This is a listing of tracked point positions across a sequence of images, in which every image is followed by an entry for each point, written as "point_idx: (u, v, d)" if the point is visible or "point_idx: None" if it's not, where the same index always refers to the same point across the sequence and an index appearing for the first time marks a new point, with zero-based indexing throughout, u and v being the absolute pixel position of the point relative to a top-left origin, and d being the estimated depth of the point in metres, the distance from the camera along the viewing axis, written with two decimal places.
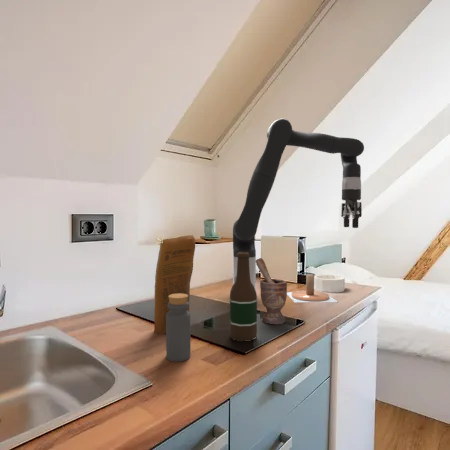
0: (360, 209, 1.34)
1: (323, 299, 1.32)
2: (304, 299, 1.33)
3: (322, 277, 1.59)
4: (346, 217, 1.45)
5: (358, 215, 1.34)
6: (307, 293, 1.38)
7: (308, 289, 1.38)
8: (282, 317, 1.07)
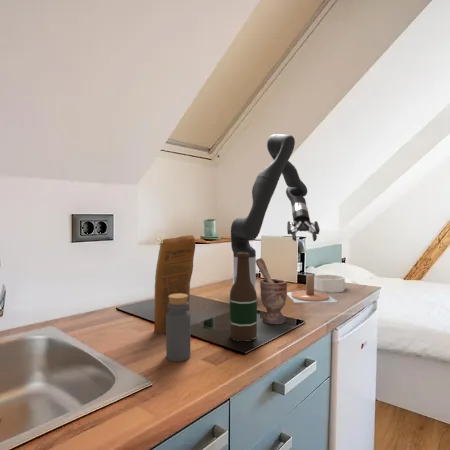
0: None
1: (323, 299, 1.32)
2: (304, 299, 1.33)
3: (322, 277, 1.59)
4: None
5: None
6: (307, 293, 1.38)
7: (308, 289, 1.38)
8: (282, 317, 1.07)
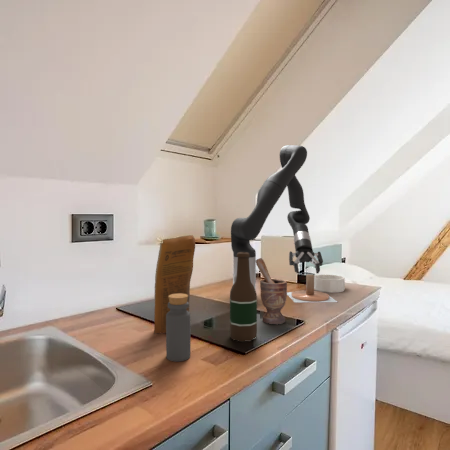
0: None
1: (323, 299, 1.33)
2: (304, 299, 1.33)
3: (322, 277, 1.59)
4: None
5: (322, 262, 1.47)
6: (307, 293, 1.38)
7: (308, 289, 1.38)
8: (282, 317, 1.07)
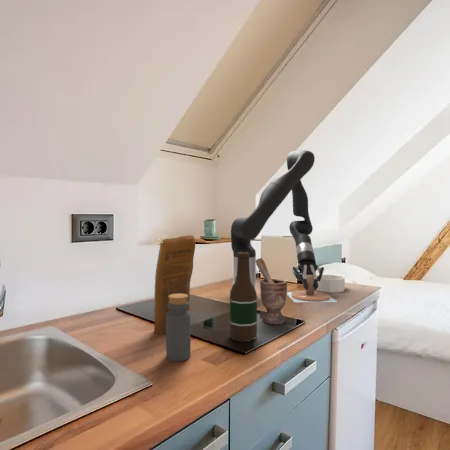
0: None
1: (323, 299, 1.33)
2: (304, 299, 1.33)
3: (322, 277, 1.59)
4: None
5: (320, 278, 1.40)
6: (307, 293, 1.38)
7: (308, 289, 1.38)
8: (282, 317, 1.07)
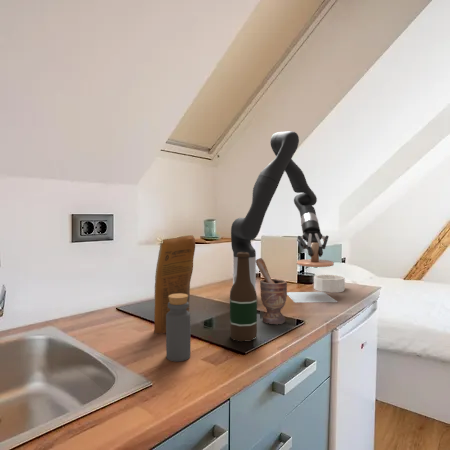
0: None
1: (328, 265, 1.35)
2: (309, 265, 1.35)
3: (322, 277, 1.59)
4: None
5: (325, 246, 1.42)
6: (312, 260, 1.41)
7: (313, 256, 1.40)
8: (282, 317, 1.07)
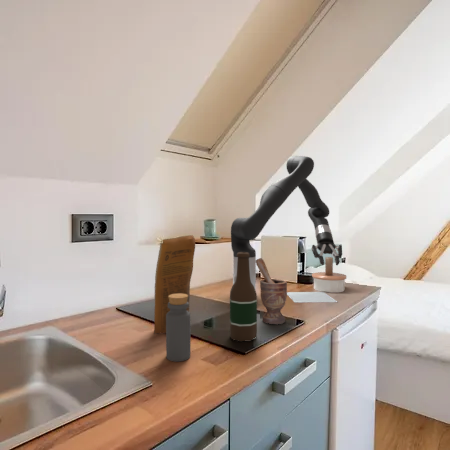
0: None
1: (342, 278, 1.47)
2: (324, 278, 1.47)
3: None
4: None
5: (341, 255, 1.55)
6: (326, 274, 1.53)
7: (327, 270, 1.52)
8: (282, 317, 1.07)
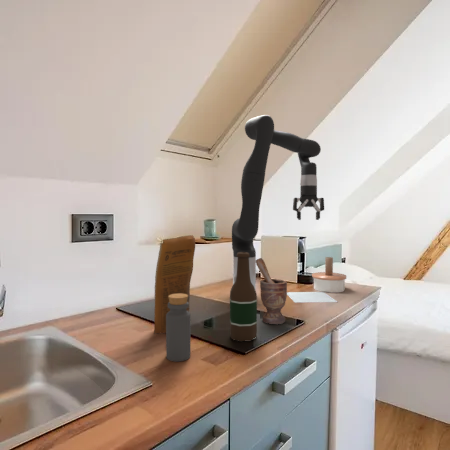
0: None
1: (342, 278, 1.47)
2: (324, 278, 1.47)
3: None
4: None
5: None
6: (326, 274, 1.53)
7: (327, 270, 1.52)
8: (282, 317, 1.07)
